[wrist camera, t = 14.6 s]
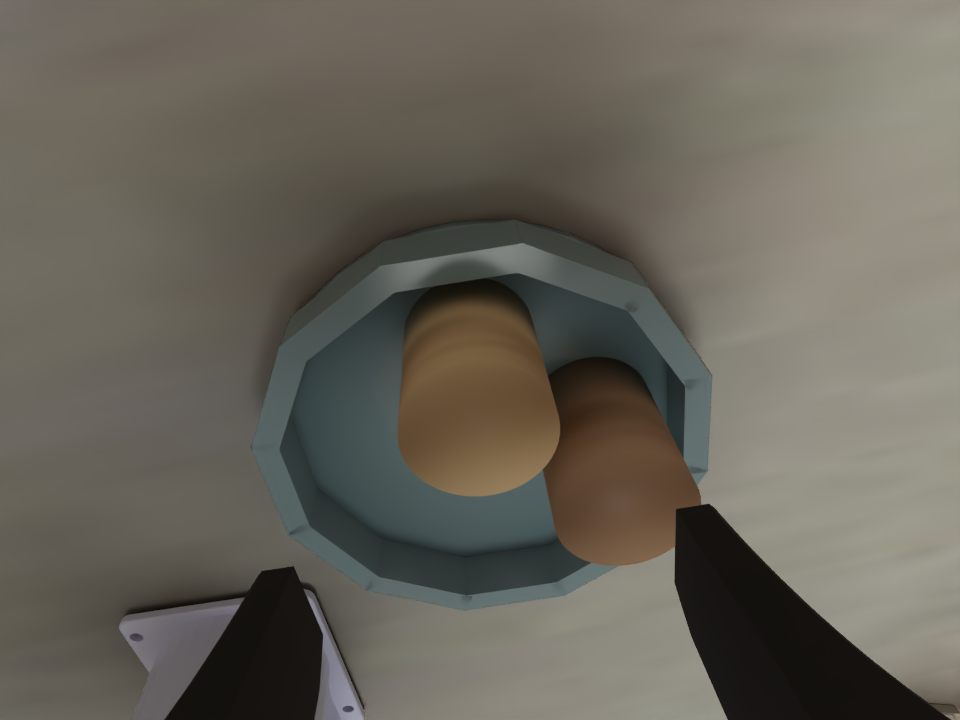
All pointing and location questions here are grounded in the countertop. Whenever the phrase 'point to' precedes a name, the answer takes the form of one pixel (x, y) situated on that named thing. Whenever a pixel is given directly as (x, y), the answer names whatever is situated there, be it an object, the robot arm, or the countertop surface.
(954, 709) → the skyscraper
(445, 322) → the oak bead
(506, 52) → the countertop surface
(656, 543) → the walnut bead
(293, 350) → the ring dish
